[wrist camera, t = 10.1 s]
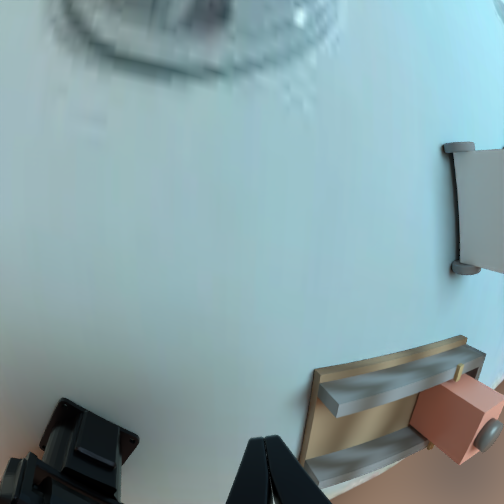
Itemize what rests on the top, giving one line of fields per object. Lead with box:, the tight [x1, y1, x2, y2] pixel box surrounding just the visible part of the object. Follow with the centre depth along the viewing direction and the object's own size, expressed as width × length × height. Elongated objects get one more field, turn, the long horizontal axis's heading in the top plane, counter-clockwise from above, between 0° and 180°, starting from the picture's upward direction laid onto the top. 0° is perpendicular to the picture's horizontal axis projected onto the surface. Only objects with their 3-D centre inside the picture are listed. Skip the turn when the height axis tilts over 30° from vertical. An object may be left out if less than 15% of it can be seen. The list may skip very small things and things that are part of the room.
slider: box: [409, 373, 504, 465], centre depth 22 cm, size 4×6×9 cm, turn 178°
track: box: [299, 335, 486, 489], centre depth 24 cm, size 18×11×4 cm, turn 88°
